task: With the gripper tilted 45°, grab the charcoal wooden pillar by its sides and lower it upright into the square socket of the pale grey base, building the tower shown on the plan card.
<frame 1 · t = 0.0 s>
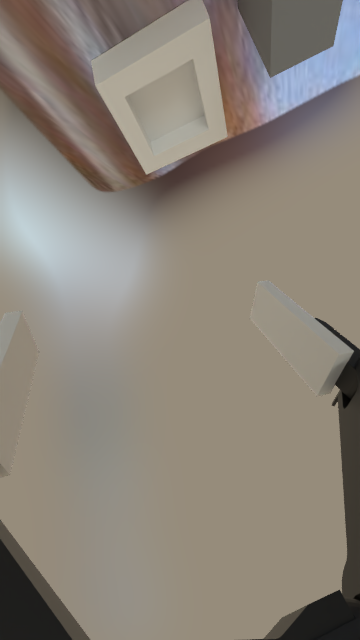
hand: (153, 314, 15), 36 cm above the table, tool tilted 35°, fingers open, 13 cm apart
socket base: (164, 92, 36), on the table
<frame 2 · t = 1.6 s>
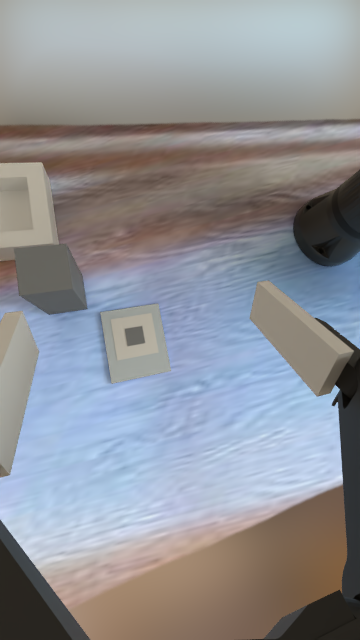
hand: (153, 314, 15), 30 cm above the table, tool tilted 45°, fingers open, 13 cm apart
charcoal pillar: (66, 294, 43), on the table
plan card: (135, 342, 44), on the table
socket base: (10, 220, 43), on the table
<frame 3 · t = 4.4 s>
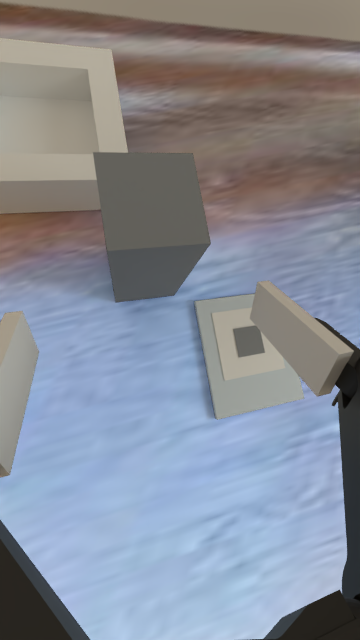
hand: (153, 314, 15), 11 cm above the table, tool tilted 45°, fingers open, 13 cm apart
charcoal pillar: (141, 270, 26), on the table
plan card: (248, 350, 27), on the table
socket base: (54, 149, 27), on the table
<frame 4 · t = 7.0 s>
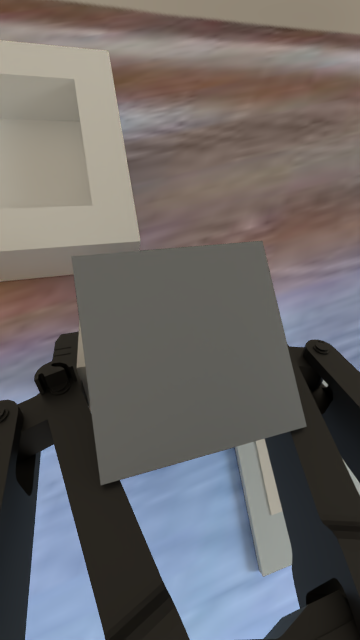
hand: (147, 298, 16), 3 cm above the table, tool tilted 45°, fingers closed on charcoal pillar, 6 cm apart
charcoal pillar: (151, 357, 19), on the table, touching gripper
plan card: (299, 462, 20), on the table
socket base: (29, 189, 19), on the table
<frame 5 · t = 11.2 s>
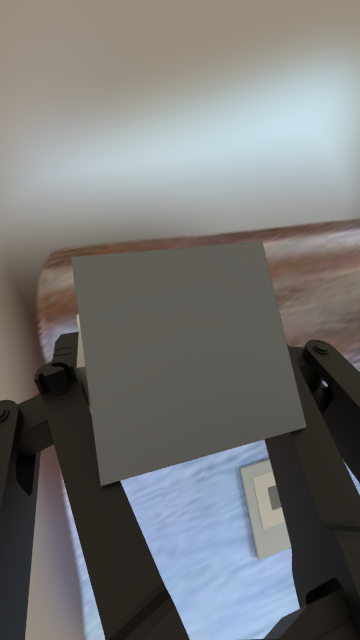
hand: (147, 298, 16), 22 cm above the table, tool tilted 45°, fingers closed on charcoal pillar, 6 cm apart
charcoal pillar: (151, 357, 19), point 19 cm above the table, touching gripper
plan card: (278, 501, 38), on the table
when the fingers open (7 cm above the table, at t = 15.2 s): charcoal pillar drops 2 cm, resting on socket base.
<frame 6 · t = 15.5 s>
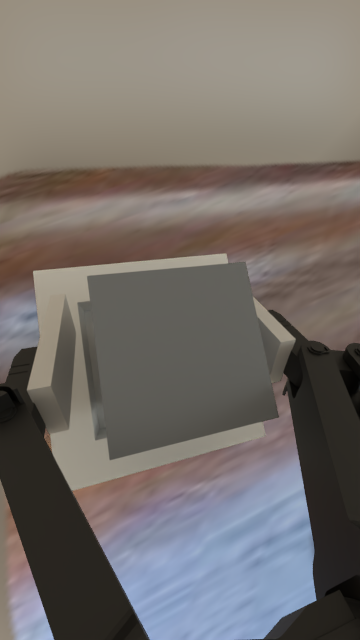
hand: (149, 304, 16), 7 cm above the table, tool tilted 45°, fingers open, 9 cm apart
charcoal pillar: (151, 358, 21), point 2 cm above the table, touching socket base
socket base: (148, 358, 22), on the table
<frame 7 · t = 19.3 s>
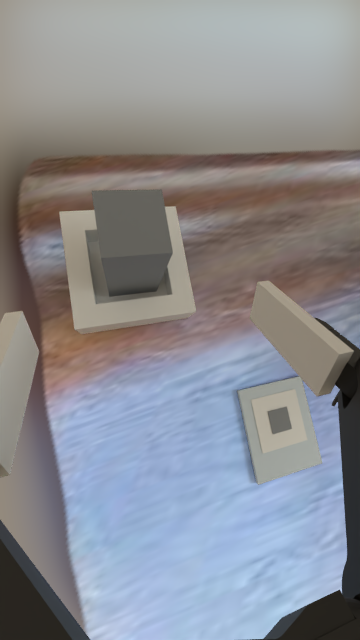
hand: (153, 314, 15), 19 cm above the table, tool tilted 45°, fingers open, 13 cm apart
charcoal pillar: (130, 271, 33), point 1 cm above the table, touching socket base
plan card: (278, 426, 35), on the table
socket base: (128, 275, 35), on the table
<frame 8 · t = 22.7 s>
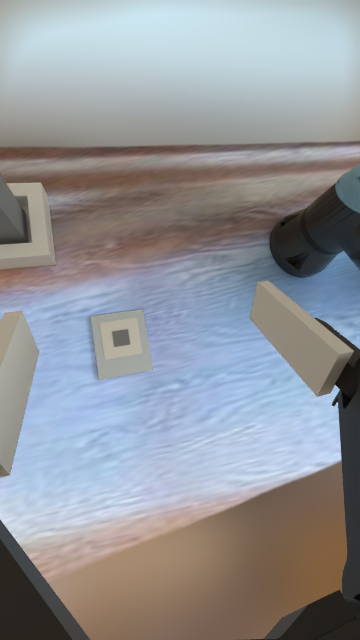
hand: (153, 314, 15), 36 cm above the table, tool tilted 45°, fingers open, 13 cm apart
charcoal pillar: (9, 229, 47), point 1 cm above the table, touching socket base
plan card: (122, 343, 49), on the table
socket base: (12, 233, 48), on the table
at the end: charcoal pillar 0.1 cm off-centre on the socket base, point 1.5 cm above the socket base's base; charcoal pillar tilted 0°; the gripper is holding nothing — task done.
